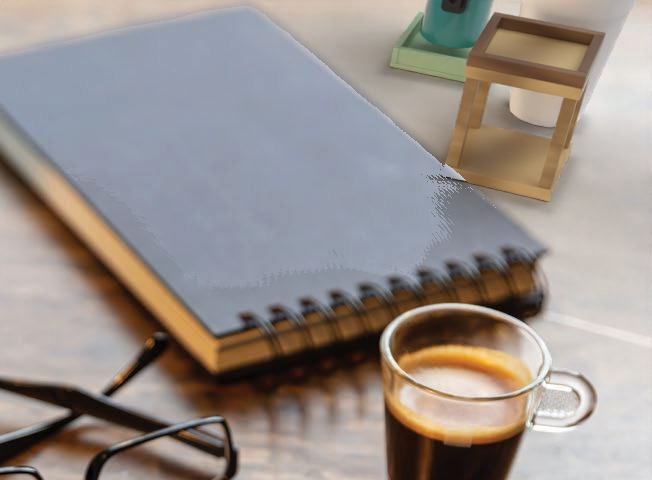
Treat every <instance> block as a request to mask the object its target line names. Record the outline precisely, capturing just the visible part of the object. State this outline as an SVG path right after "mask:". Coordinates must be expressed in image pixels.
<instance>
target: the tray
mask: <svg viewBox="0 0 652 480" xmlns="http://www.w3.org/2000/svg"><path fill="white" fill-rule="evenodd" d="M415 15H416V16H415V17H414V18H413V20H412V21H411V22H410V24H409V25H408V27H407V28H406V30H405V31H404V32H403V33H402V34H401V36H400V38H399V39H398V41H397V42H396V43H395V44H394V46H393V48H392V53H391V58H390V64H389V67H391V68H394V69H399V70H405V71H408V72H409V71H410V72H414V73H419V74H424V75H427V76H428V75H429V76H433V77H438V78H442V79H447V80H452V81H457V82H462V83H465V80H466V77H464V72H465V67H466V63H467V59H468V54H469V52H470V51H471V49H472V48H473V47H471V48H463V49H457V48H447V47H442V46H438V45H435V44H433V43H431V42H429V41H427V40H426V39H424V38H423V37H422V35H421V27H422V22H423V17H424V12H421V11H418V13H417V14H415Z"/></svg>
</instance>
